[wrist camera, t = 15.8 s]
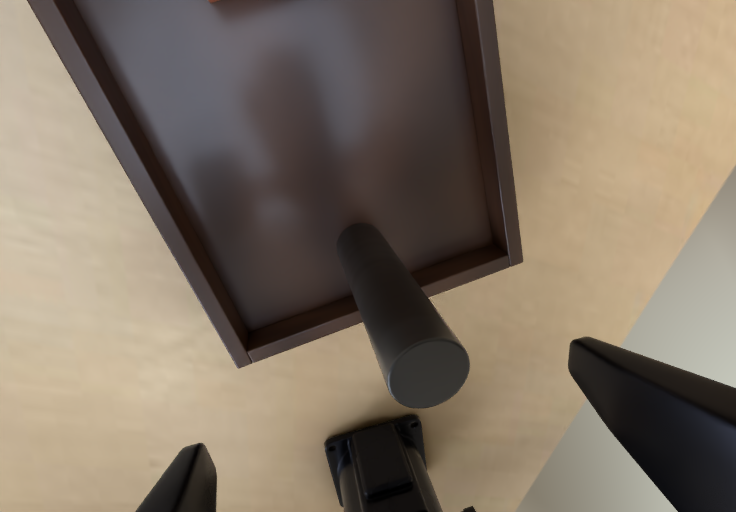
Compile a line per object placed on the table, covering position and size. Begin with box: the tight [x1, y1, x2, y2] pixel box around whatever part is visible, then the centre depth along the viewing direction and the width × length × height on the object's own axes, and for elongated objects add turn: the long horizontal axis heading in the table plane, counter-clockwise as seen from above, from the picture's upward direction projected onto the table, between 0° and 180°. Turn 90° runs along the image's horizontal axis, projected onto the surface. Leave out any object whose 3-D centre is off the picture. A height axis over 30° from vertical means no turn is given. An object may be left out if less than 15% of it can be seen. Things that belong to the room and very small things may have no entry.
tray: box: [27, 0, 523, 408], centre depth 12 cm, size 14×20×11 cm
